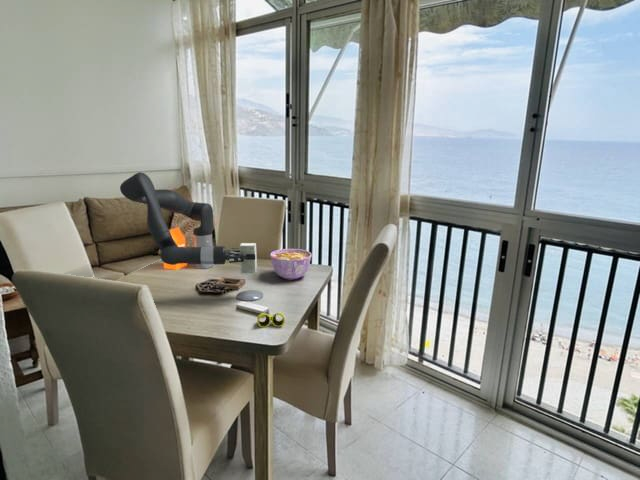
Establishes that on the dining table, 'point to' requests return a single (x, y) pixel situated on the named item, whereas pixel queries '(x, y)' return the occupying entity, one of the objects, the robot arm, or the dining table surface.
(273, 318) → the opera glasses
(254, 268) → the skincare box
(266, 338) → the dining table surface
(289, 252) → the bowl of food
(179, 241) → the orange juice
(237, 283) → the pocket block
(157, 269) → the dining table surface
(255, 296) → the slate coaster
